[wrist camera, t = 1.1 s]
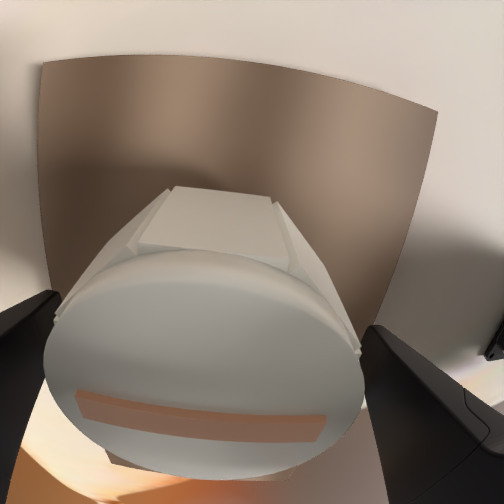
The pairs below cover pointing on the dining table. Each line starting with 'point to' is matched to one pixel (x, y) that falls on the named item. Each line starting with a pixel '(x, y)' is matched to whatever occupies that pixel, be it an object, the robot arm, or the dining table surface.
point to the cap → (207, 342)
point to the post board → (230, 160)
